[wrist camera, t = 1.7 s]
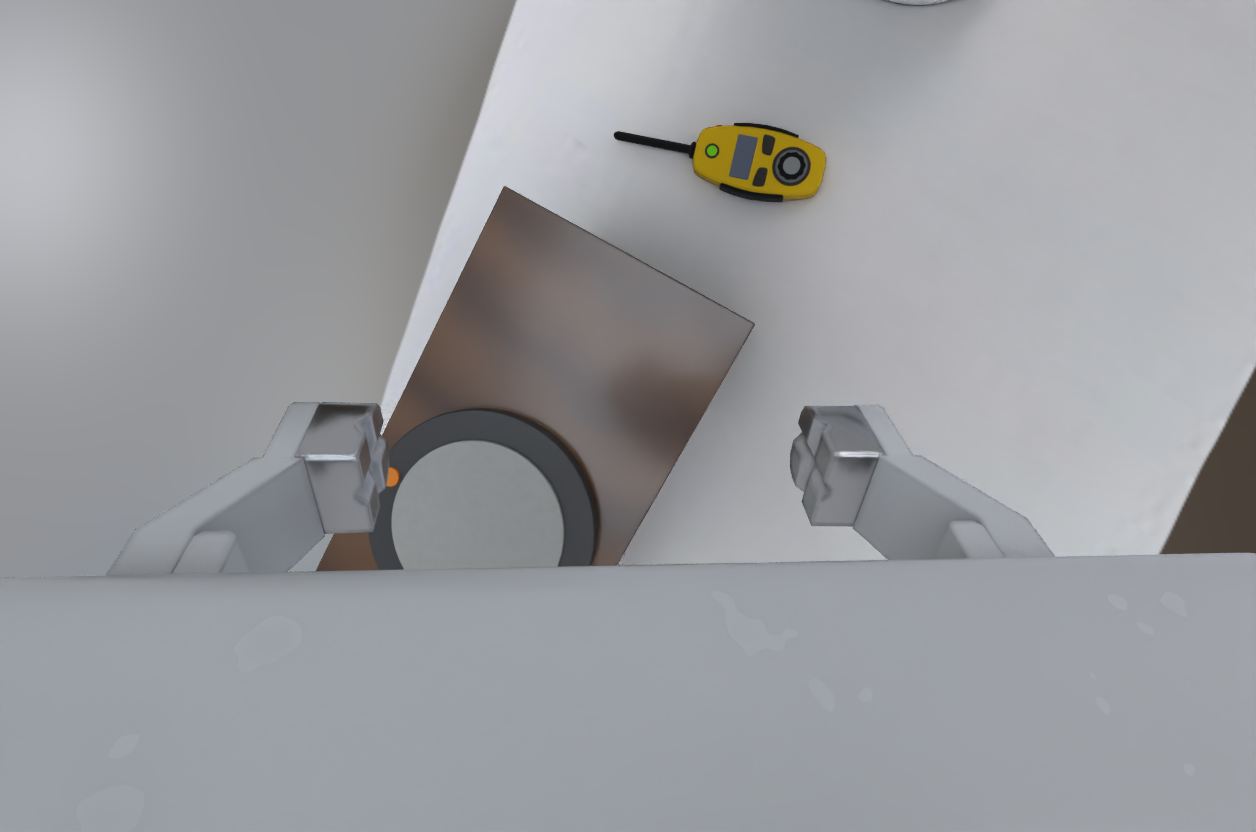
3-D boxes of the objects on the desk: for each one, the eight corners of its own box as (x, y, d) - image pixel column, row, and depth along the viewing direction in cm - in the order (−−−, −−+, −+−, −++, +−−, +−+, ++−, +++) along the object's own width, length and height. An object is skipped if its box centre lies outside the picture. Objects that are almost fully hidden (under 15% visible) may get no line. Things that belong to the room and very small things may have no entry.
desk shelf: (582, 238, 52) (503, 185, 34) (747, 329, 51) (755, 323, 33) (447, 499, 56) (314, 573, 38) (598, 589, 55) (534, 708, 37)
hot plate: (437, 365, 36) (426, 366, 34) (640, 483, 35) (637, 488, 33) (340, 559, 38) (326, 567, 36) (531, 676, 37) (523, 688, 35)
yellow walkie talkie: (815, 207, 47) (603, 164, 49) (812, 213, 49) (608, 171, 51) (834, 135, 47) (618, 94, 48) (830, 143, 49) (622, 103, 50)
